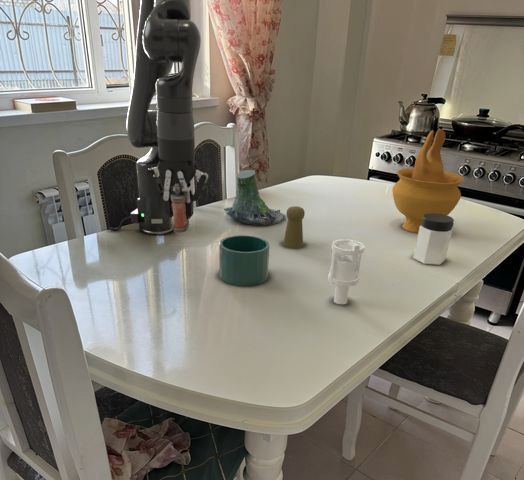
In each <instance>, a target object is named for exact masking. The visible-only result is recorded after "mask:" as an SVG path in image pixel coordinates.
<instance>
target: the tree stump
mask: <svg viewBox="0 0 524 480" xmlns="http://www.w3.org/2000/svg"><path fill="white" fill-rule="evenodd" d="M256 176H257V175H256V170H254V169H245V170H242V171H240V172H238V173H237V174H236V195H235V199H234V201H233V203H232V206H229V207H226V208H225V207H224V208H223V210H224V214H226V215H227V216H229V217H230V218H231V219H234V220H236V221H238V222H240V223H242V224H243V225H254V226H270V225H276V224H279V223H280V222H282V221H283V220H284V216H283V213H281V210H280V209H276V210H275V209H271V208H270V207H268V206H267V204H266V202H265V201H264V200H263V199H262V198H261V197H260V192H259V189H258V184H257V177H256Z"/></svg>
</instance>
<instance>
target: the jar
mask: <svg viewBox="0 0 524 480" xmlns="http://www.w3.org/2000/svg"><path fill="white" fill-rule="evenodd" d="M454 221H455V219H454V218H453V217H452V216H450V215H443V214H436V213H429V214H425V215H424V216H423V220H422V224H421V226H420V228H419V233H417V238H416V243H415V246H414V252H413V255H412V256H413V257H412V258H413V259H414V260H416V261H418V262H420V263H421V264H424V265H437V266H440V265H441V264H442V263H444V261H446V258H447V254H448V250H449V246H450V242H451V239H452V234H453V230H454V223H455V222H454Z"/></svg>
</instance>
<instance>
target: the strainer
mask: <svg viewBox="0 0 524 480" xmlns="http://www.w3.org/2000/svg"><path fill="white" fill-rule="evenodd" d="M346 245H347V246H351V249H345V248H341V247H339V246H346ZM331 251H332V253H331V260H330V269H329V272H328V273H327V281H328V282H329V283H331V284H333V285H335V290H334V296H333V297H334V298H333V302H334V304H337V305H346V304H348V297H349V291H350V287H353V286H354V287H355V286H357V285H358V284H359V283H360V279H361V276H360V274H359V272H360V266H361V260H362V254H364V252H365V244H363V242H360V241H358V240H355V239H348V238H343V239H342V238H341V239H336V240H335V239H334V240H333V241H332V242H331Z"/></svg>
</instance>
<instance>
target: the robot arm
mask: <svg viewBox="0 0 524 480" xmlns="http://www.w3.org/2000/svg"><path fill="white" fill-rule="evenodd" d="M191 2H192V1H191V0H140V7H139V8H140V9H139V17H138V24H137V32H136V43H135V59H134V60H135V62H134V73H133V82H132V89H131V95H130V100H129V105H128V111H127V116H126V117H127V118H126V134H127V135H126V136H127V138H128V141H129V144H130V145H131V146H133V147H134V148H139V149H144V148H145V149H146V148H150V150H149V151H148V153H147V154H145V156H143V157H140V159H138V160H137V161H136V164H135V167H136V176H137V187H138V198H137V199H136V209H134V210H133V211H131V212H130V214H129V216H126V217H125V218H123V219H122V220H120V223H119V225H118V227H108V230H109V231H120V230H121V229H122V227H123V224H124V223H125V222H126V221H128V220H130V223H131V224H138V230H139V232H142V233H145V234H148V235H166V234H169V233H171V232H173V231H174V228H173V218H174V217H173V211H172V201H171V193H172V192H173V191H174V185H175V184H176V183H178V184H180V186H181V189H182V192H183V194H184V195H185V196H186V199H185V202H186V203H185V206H186V219H188V220H189V221H190V219H191V218H192V217H193V216H194V202H198V201H199V200H200V199H201V198H202V196H203V193H204V191H205V189H206V186H207V183H208V181H209V177H210V174H209V173H208V172H202V171H200V170H199V169H198V166H197V164H196V145H195V144H196V143H195V141H196V139H195V120H194V112H193V109H194V107H193V106H194V105H193V85H194V84H193V83H194V75H195V71H196V65H197V61H198V57H199V53H200V49H201V41H202V40H201V32H200V29H199V27H198V25H197V24H196V23H195V22H194V21H192V20H191V16H192V15H191V14H192V11H191V9H192V8H191V7H192V5H191ZM175 63H176V64H181V65H182V66H181V69H180V70H179V71H178V72H177V73H175V74H171V71H172V70H173V66H174V64H175ZM170 74H171V75H170ZM155 95H156V109H150V107H151V103H152V101H153V98H154V97H155ZM194 177H195V178H196V182H197V185H196V188H195V191H194V192H193V184H192V180H193V179H194Z"/></svg>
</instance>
